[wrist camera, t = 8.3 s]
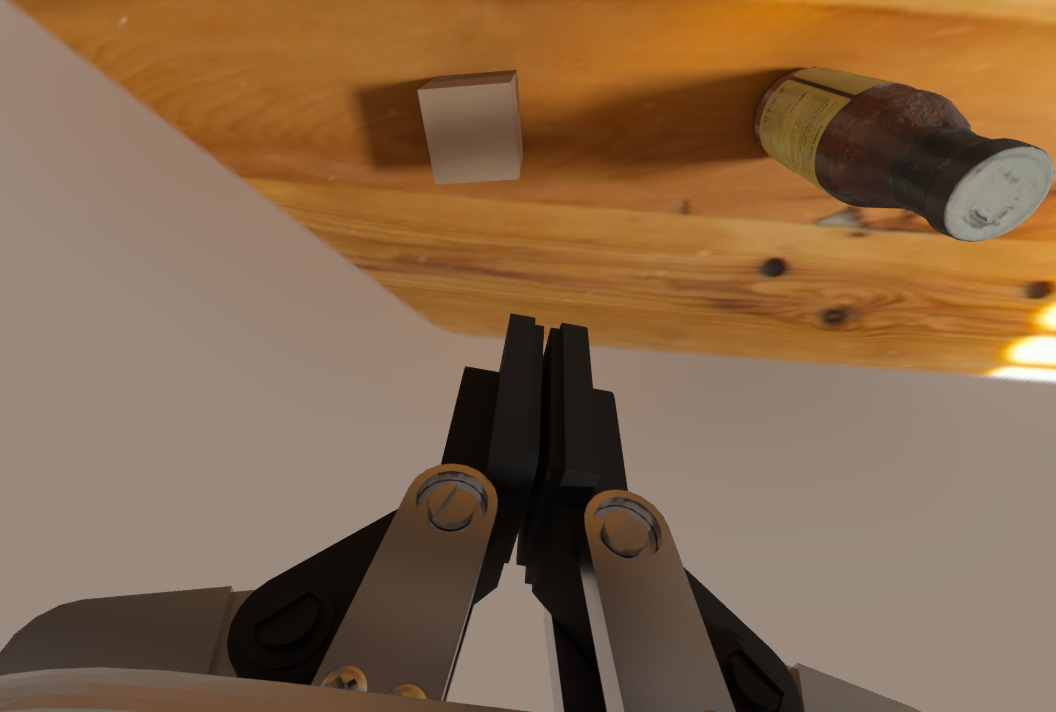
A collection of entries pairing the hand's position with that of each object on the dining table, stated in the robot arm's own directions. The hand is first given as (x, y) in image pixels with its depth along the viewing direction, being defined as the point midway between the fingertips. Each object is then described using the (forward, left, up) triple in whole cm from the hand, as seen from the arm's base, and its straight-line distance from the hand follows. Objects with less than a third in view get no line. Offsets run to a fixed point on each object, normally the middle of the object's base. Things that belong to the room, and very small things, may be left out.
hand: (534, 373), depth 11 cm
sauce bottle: (-3, +18, -32) cm, 37 cm away
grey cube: (+2, -5, -32) cm, 33 cm away
